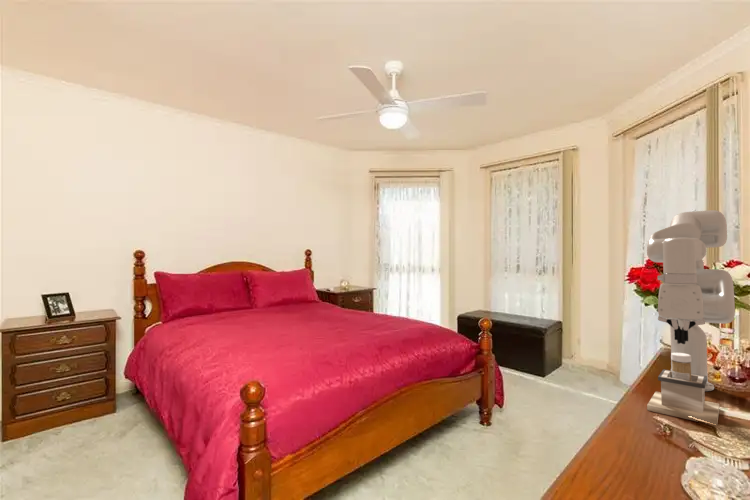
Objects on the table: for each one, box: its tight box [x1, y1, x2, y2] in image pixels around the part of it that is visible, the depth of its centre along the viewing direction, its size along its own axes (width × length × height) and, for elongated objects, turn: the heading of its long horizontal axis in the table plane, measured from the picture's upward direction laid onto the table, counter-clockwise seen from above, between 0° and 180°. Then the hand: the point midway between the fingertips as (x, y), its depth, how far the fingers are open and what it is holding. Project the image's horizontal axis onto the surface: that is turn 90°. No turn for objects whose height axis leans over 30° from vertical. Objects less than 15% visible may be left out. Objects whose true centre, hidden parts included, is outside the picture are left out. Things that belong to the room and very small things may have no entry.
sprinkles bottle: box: [670, 352, 692, 381], centre depth 110 cm, size 5×5×13 cm
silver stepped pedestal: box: [646, 369, 720, 426], centre depth 110 cm, size 15×15×10 cm
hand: (681, 343), depth 110 cm, fingers closed
